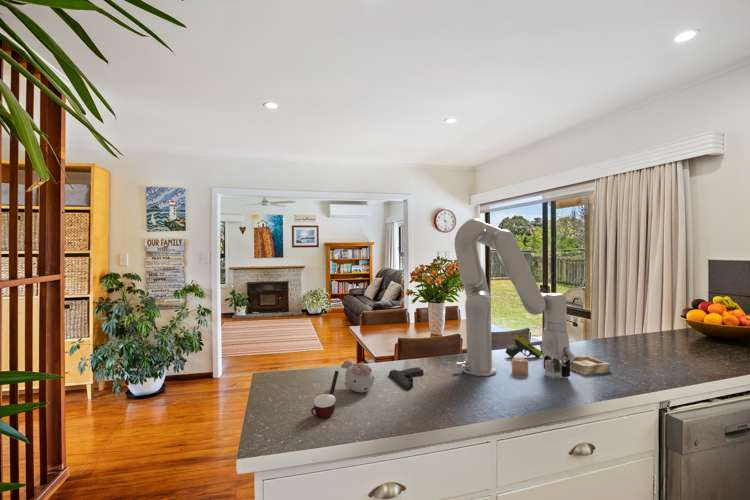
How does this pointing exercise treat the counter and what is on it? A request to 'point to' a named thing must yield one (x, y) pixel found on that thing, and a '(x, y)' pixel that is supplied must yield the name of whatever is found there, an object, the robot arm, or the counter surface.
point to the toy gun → (522, 348)
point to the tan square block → (520, 366)
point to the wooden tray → (589, 365)
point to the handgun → (406, 376)
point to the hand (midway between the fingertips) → (556, 372)
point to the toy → (358, 376)
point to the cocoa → (325, 402)
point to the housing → (553, 368)
